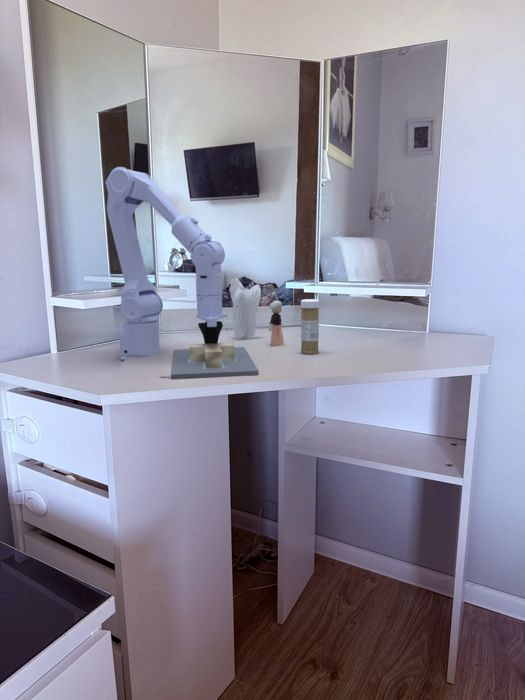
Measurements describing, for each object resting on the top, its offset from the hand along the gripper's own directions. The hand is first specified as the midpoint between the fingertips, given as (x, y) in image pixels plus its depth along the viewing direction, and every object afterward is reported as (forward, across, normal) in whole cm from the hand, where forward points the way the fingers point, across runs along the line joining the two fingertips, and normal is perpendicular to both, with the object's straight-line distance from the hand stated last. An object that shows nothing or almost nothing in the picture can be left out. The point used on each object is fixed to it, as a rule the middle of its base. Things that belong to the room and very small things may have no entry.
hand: (211, 352), depth 114 cm
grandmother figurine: (+2, +13, -18) cm, 22 cm away
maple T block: (+1, -6, 0) cm, 6 cm away
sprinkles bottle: (+2, +5, -25) cm, 26 cm away
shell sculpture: (+2, +25, -11) cm, 27 cm away
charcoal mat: (+2, -2, 0) cm, 3 cm away
